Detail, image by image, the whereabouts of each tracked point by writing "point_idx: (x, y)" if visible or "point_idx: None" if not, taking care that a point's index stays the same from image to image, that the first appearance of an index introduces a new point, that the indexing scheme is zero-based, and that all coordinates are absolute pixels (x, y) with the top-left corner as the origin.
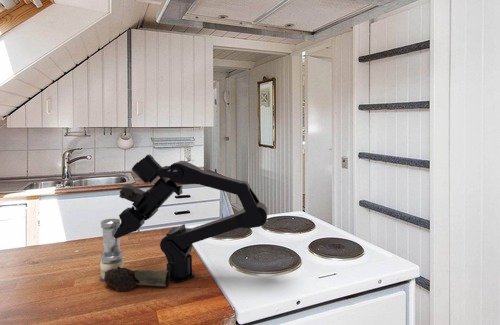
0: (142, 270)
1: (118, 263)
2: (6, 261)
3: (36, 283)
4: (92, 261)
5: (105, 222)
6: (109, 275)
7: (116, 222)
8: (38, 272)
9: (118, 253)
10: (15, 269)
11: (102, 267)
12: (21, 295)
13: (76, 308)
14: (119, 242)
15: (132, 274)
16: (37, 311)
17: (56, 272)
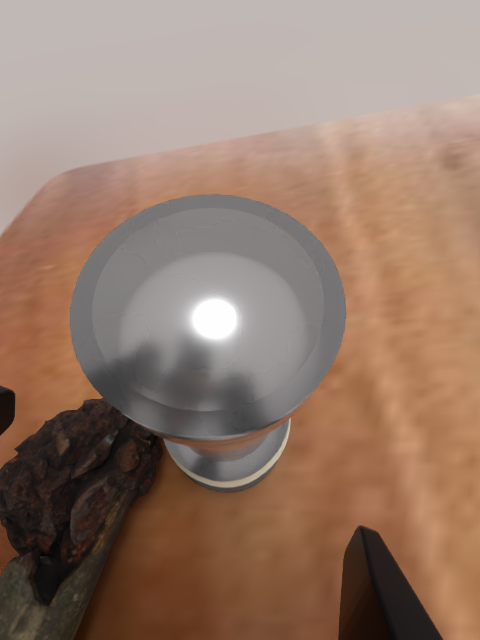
0: (21, 622)
1: (171, 455)
2: (470, 99)
3: (266, 191)
4: (439, 332)
5: (154, 242)
6: (63, 412)
7: (93, 384)
8: (358, 181)
9: (193, 451)
10: (398, 128)
11: None
12: (191, 174)
13: (7, 320)
14: (218, 453)
15: (27, 544)
16: (59, 225)
17: (344, 227)
